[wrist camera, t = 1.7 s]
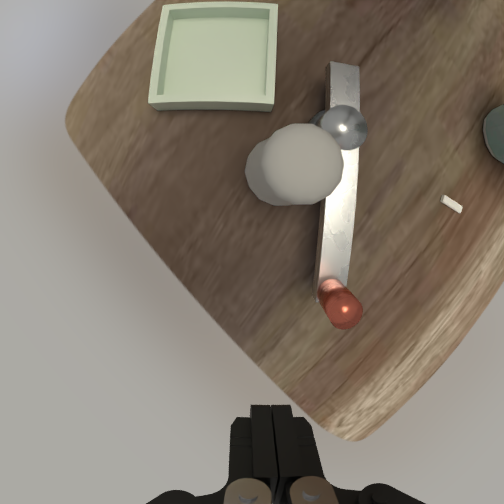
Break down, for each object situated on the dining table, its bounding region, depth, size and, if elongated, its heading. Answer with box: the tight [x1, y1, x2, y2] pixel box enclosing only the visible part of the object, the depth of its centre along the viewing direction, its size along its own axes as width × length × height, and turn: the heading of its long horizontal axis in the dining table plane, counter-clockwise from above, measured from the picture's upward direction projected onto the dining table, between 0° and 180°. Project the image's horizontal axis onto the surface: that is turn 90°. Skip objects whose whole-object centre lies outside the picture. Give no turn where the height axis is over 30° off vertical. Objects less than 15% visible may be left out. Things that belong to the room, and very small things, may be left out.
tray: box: [148, 2, 278, 112], centre depth 23 cm, size 10×10×3 cm
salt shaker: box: [245, 124, 344, 206], centre depth 20 cm, size 6×6×13 cm
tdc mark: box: [440, 195, 462, 213], centre depth 27 cm, size 3×1×1 cm, turn 69°
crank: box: [312, 61, 367, 329], centre depth 21 cm, size 20×4×7 cm, turn 177°
